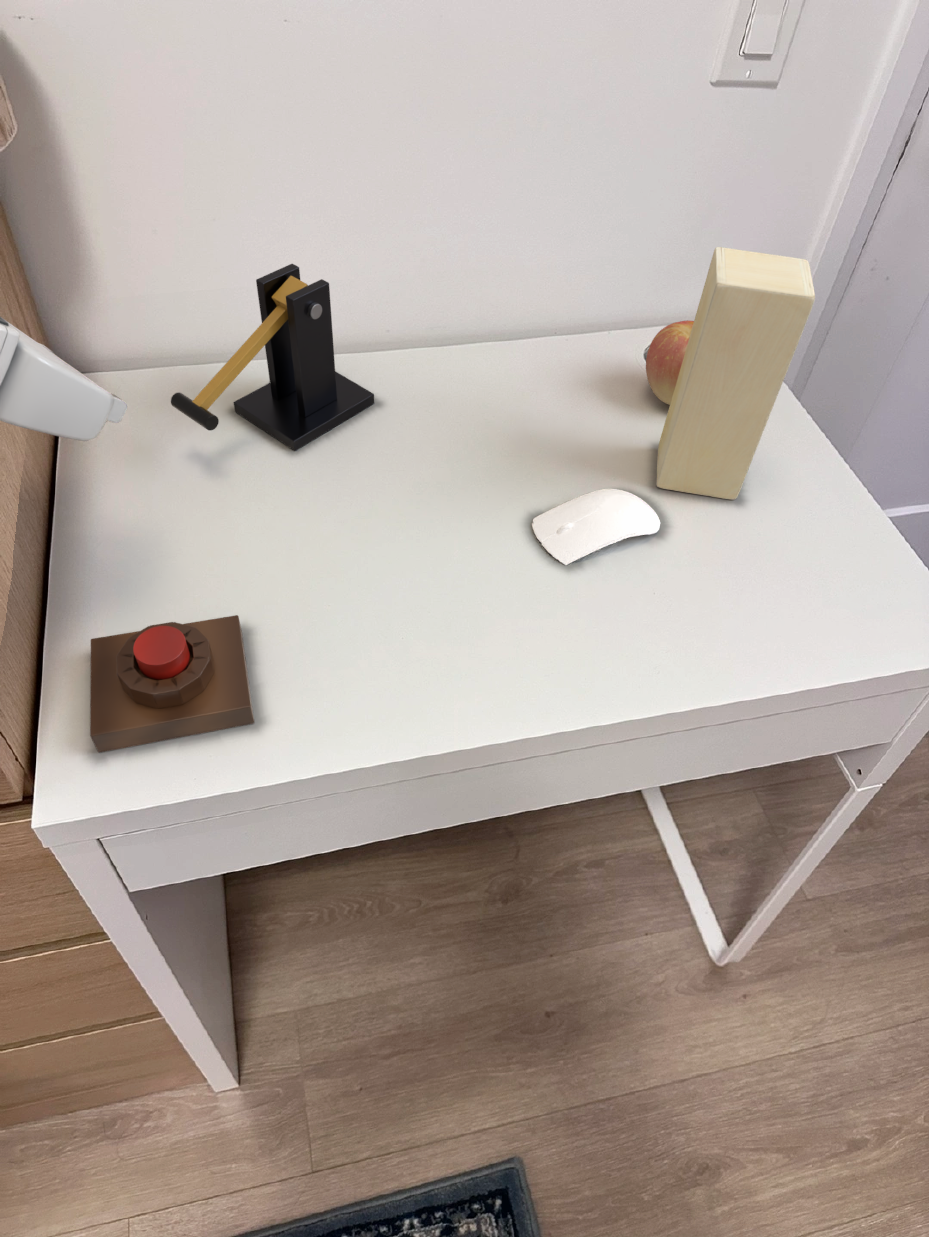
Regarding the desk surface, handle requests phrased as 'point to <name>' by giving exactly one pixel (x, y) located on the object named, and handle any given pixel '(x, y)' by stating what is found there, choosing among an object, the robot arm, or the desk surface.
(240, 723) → the release housing
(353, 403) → the bolt bracket
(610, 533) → the computer mouse
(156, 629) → the release button
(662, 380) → the apple
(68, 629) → the desk surface
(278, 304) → the bolt lever
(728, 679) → the desk surface
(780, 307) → the tall wooden block
